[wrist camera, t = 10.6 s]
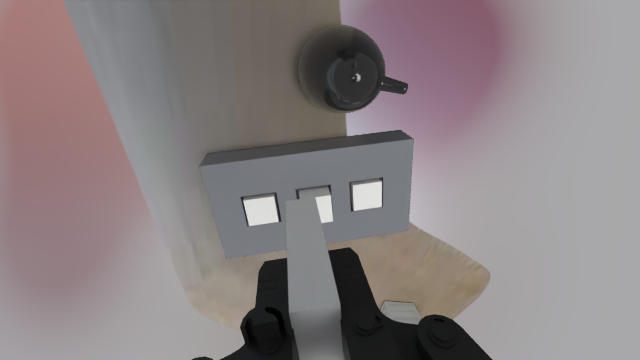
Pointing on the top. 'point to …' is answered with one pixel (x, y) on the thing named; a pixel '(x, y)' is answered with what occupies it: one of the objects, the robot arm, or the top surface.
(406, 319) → the supplement box
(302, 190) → the button
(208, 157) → the console
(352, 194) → the button
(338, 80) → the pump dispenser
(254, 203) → the button
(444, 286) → the top surface
